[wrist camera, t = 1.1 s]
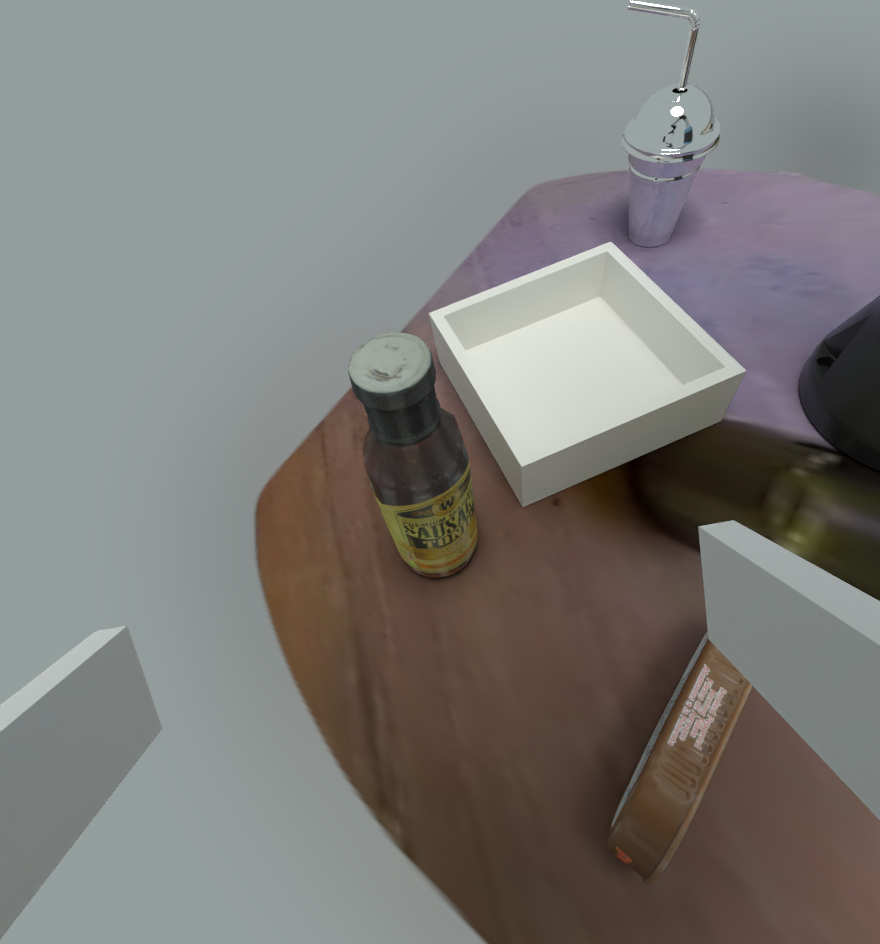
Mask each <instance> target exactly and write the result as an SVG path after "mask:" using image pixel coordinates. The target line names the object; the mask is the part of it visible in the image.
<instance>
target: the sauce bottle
mask: <svg viewBox="0 0 880 944" xmlns="http://www.w3.org/2000/svg"><path fill="white" fill-rule="evenodd" d="M348 372H349V377H350V380H351V384H352V388H353V392H354V393H355V395H356V397H357V398H358V399H359V400H360V401H361V402H362V403H363V405H364V407H365V410H366V413H367V415H368V422H369V426H370V427H369V430H368V431H367V433H366V435H365V439H364V446H363V455H364V465H365V469H366V471H367V474H368V476H369V478H370V483H371V487H372V490H373V493H374V495H375V497H376V500H377V502H378V505H379V507H380V509H381V512H382V514H383V517H384V519H385V522H386V524H387V526H388V529H389V531H390V533H391V535H392V537H393V540H394V542H395V544H396V547H397V549H398V551H399V553H400V555H401V557H402V558H403V559H404V560H405V562H406V564H407V565H408V566H409V567H410V568H411V569H412V570H413V571H415V572H416V573H418V574H420V575H423V576H426V577H429V578H440V577H446V576H449V575H453V574H455V573H456V572H458V571H460V570H462V569H463V567H465V565H466V564H467V563H468V561H469V560H470V559H471V557H472V555H473V553H474V551H475V549H476V546H477V538H478V528H477V520H476V513H475V506H474V498H473V490H472V482H471V474H470V466H469V458H468V454H467V451H466V448H465V445H464V442H463V439H462V436H461V433H460V430H459V427H458V424H457V421H456V419H455V417H454V415H452V414H450V413H448V412H447V411H445V410H444V409H442V408H440V404H439V402H438V400H437V398H436V393H435V387H434V383H435V380H436V378H435V377H436V370H435V367H434V363H433V359H432V354H431V351H430V349H429V348H428V346H427V344H426V343H425V342H424V341H423V340H421V339H420V338H418V337H416V336H414V335H410V334H408V333H399V332H395V333H386V334H382V335H379V336H375V337H373V338H372V339H370V340H368V341H367V342H365V343H363V344H362V345H360V346H359V347H358V348H357V349H356V351H355V352H354V353H353V355H352V356H351V359H350V363H349V371H348Z"/></svg>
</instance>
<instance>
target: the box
mask: <svg viewBox="0 0 880 944" xmlns="http://www.w3.org/2000/svg"><path fill="white" fill-rule="evenodd" d="M429 316H430V321H431V325H432V330H433V335H434V340H435V344H436V349H437V354H438V359H439V362H440V364H441V366H442V367H443V369H444V371H445V373H446V374H447V376H448V378H449V379H450V381H451V383H452V385H453V386H454V388H455V390H456V392H457V393H458V395H459V397H460V399H461V400H462V402H463V404H464V406H465V407H466V409H467V411H468V413H469V414H470V416H471V418H472V420H473V421H474V423H475V425H476V427H477V428H478V430H479V432H480V434H481V435H482V437H483V439H484V441H485V442H486V444H487V446H488V448H489V449H490V451H491V453H492V455H493V456H494V458H495V460H496V462H497V463H498V465H499V467H500V469H501V470H502V472H503V474H504V475H505V477H506V479H507V481H508V482H509V484H510V486H511V488H512V489H513V491H514V493H515V495H516V496H517V498H518V500H519V502H520V503H521V505H522V507H525V506H527V505H529V504H532V503H534V502H536V501H538V500H541V499H543V498H545V497H548V496H550V495H552V494H555V493H557V492H559V491H561V490H564V489H566V488H568V487H571V486H573V485H575V484H578V483H580V482H582V481H584V480H587V479H589V478H591V477H594V476H596V475H598V474H601V473H603V472H605V471H607V470H610V469H612V468H614V467H617V466H619V465H621V464H623V463H626V462H628V461H630V460H633V459H635V458H637V457H640V456H642V455H644V454H646V453H649V452H651V451H653V450H656V449H658V448H660V447H663V446H665V445H667V444H669V443H672V442H674V441H676V440H679V439H681V438H683V437H686V436H688V435H690V434H692V433H695V432H697V431H699V430H702V429H704V428H706V427H708V426H711V425H713V424H715V423H718V422H720V421H721V420H722V418H723V416H724V414H725V412H726V410H727V408H728V406H729V404H730V402H731V400H732V398H733V396H734V394H735V393H736V391H737V389H738V387H739V385H740V383H741V381H742V379H743V377H744V375H745V373H746V370H745V369H744V368H743V367H742V366H741V365H740V364H739V363H738V362H737V361H736V360H735V359H734V358H733V357H732V356H730V355H729V354H728V353H727V352H726V351H725V350H724V349H723V348H722V347H721V346H720V345H719V344H718V343H717V342H716V341H715V340H714V339H713V338H712V337H711V336H709V335H708V334H707V333H706V332H705V331H704V330H703V329H702V328H701V327H700V326H699V325H698V324H697V323H696V322H695V321H694V320H693V319H692V318H691V317H690V316H689V315H687V314H686V313H685V312H684V311H683V310H682V309H681V308H680V307H679V306H678V305H677V304H676V303H675V302H674V301H673V300H672V299H671V298H670V297H669V296H668V295H666V294H665V293H664V292H663V291H662V290H661V289H660V288H659V287H658V286H657V285H656V284H655V283H654V282H653V281H652V280H651V279H650V278H649V277H648V276H647V275H645V274H644V273H643V272H642V271H641V270H640V269H639V268H638V267H637V266H636V265H635V264H634V263H633V262H632V261H631V260H630V259H629V258H628V257H627V256H626V255H624V254H623V253H622V252H621V251H620V250H619V249H618V248H617V247H616V246H615V245H614V244H613V243H612V242H608V243H606V244H603V245H601V246H598V247H596V248H593V249H591V250H588V251H586V252H583V253H581V254H578V255H575V256H573V257H570V258H568V259H565V260H563V261H560V262H558V263H555V264H553V265H550V266H548V267H545V268H542V269H540V270H537V271H535V272H532V273H530V274H527V275H525V276H522V277H520V278H517V279H515V280H512V281H509V282H507V283H504V284H502V285H499V286H497V287H494V288H492V289H489V290H487V291H484V292H482V293H479V294H477V295H474V296H471V297H469V298H466V299H464V300H461V301H459V302H456V303H454V304H451V305H449V306H446V307H444V308H441V309H438V310H436V311H433V312H431V313H429Z"/></svg>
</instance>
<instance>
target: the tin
mask: <svg viewBox="0 0 880 944" xmlns="http://www.w3.org/2000/svg"><path fill="white" fill-rule="evenodd" d="M752 687H753V686H752V685H751V683H750V682H749V681H748V680H747V679H746V678H745V677H744V676H743V675H742V674H741V673H740V672H739V671H738V670H737V669H736V668H735V667H734V666H733V664H732V663H731V662H730V661H729V660H728V659H727V658H726V657H725V656H724V655H723V654H722V653H721V652H720V651H719V650H718V649H717V648H716V646H715V645H714V644H713V643H712V642H711V641H710V640H709V639H708V628H707V630H706V632H705V633H704V635H703V637H702V639H701V641H700V643H699V644H698V646H697V648H696V650H695V652H694V653H693V655H692V657H691V659H690V661H689V663H688V665H687V667H686V669H685V671H684V672H683V674H682V676H681V678H680V680H679V682H678V684H677V686H676V688H675V690H674V692H673V693H672V695H671V697H670V699H669V701H668V703H667V705H666V707H665V708H664V710H663V712H662V714H661V716H660V718H659V720H658V722H657V724H656V726H655V728H654V730H653V731H652V733H651V735H650V737H649V739H648V741H647V743H646V745H645V747H644V749H643V752H642V754H641V756H640V758H639V760H638V762H637V764H636V766H635V768H634V770H633V772H632V774H631V776H630V778H629V780H628V782H627V785H626V787H625V789H624V791H623V793H622V795H621V797H620V799H619V801H618V804H617V806H616V808H615V810H614V812H613V815H612V817H611V819H610V822H609V824H608V827H607V832H606V839H607V847H608V849H609V850H610V851H611V852H612V853H613V854H614V855H616V856H617V857H618V858H619V859H620V860H622V861H623V862H624V863H626V864H627V865H628V866H629V867H631V868H632V869H633V870H634V871H636V872H637V873H638V874H639V875H640V876H641V877H642V878H643V880H644V882H645V883H646V884H651V883H653V882H654V881H655V880H656V879H657V878H658V877H659V875H660V874H661V873H662V872H663V870H664V869H665V868H666V866H667V865H668V863H669V861H670V860H671V858H672V857H673V855H674V853H675V851H676V849H677V847H678V846H679V844H680V842H681V841H682V839H683V837H684V835H685V833H686V831H687V829H688V827H689V825H690V823H691V822H692V819H693V817H694V815H695V813H696V811H697V809H698V807H699V805H700V803H701V800H702V798H703V796H704V794H705V791H706V789H707V787H708V785H709V783H710V781H711V778H712V776H713V774H714V771H715V769H716V767H717V765H718V763H719V761H720V758H721V756H722V754H723V752H724V749H725V747H726V745H727V743H728V740H729V738H730V736H731V734H732V731H733V729H734V727H735V725H736V723H737V720H738V718H739V716H740V714H741V711H742V709H743V707H744V705H745V703H746V701H747V699H748V696H749V694H750V692H751V689H752Z"/></svg>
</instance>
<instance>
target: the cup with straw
mask: <svg viewBox="0 0 880 944" xmlns="http://www.w3.org/2000/svg"><path fill="white" fill-rule="evenodd" d="M628 10H633V11H639V12H646V13H652V14H658V15H665V16H672V17H678V18H684V19H688V20H689V22H690V29H689V34H688V39H687V44H686V48H685V54H684V58H683V63H682V68H681V73H680V77H679V82H678V84H674V85H670V86H667V87H664V88H662V89H660V90H659V91H657V92H655V93H654V94H653V95H651V96H650V97H649V98H648V99H647V100H646V101H645V103H644V104H643V106H642V107H641V109H640V110H639V112H638V114H637V115H636V117H635V118H633V119H632V120H631V121H630V122H629V123H628V125H627V126H626V128H625V131H624V134H623V137H622V145H623V147H624V149H625V150H626V151H627V152H628V153H629V157H628V158H629V170H630V191H629V213H628V227H629V230H628V238H629V240H630V241H631V242H633V243H634V244H636V245H639V246H643V247H656V246H660V245H663V244H665V243H667V242H668V241H669V240H670V239H671V237H672V231H673V230H674V229H675V227H676V224H677V222H678V219H679V216H680V214H681V211H682V208H683V206H684V203H685V201H686V198H687V195H688V193H689V190H690V188H691V185H692V182H693V180H694V177H695V175H696V173H697V172H698V170H699V168H700V166H701V164H702V163H703V160H704V158H705V156H706V155H707V154H708V153H710V152H711V151H713V150H714V149H715V148H716V146H717V145H718V143H719V141H720V132H721V127H720V124H719V122H718V120H717V119H716V118H715V116H714V110H713V106H712V103H711V100H710V99H709V97H708V95H707V94H706V93H705V92H704V91H702V90H701V89H700V88H698V87H696V86H693V85H690V84H687V80H688V76H689V71H690V67H691V62H692V57H693V53H694V48H695V44H696V40H697V35H698V30H699V26H700V17H699V15H698V13H697V11H696V10H695V9H694V8H691V7H685V6H678V5H672V4H665V3H658V2H652V1H646V0H631V1H630V5H629V7H628Z"/></svg>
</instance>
